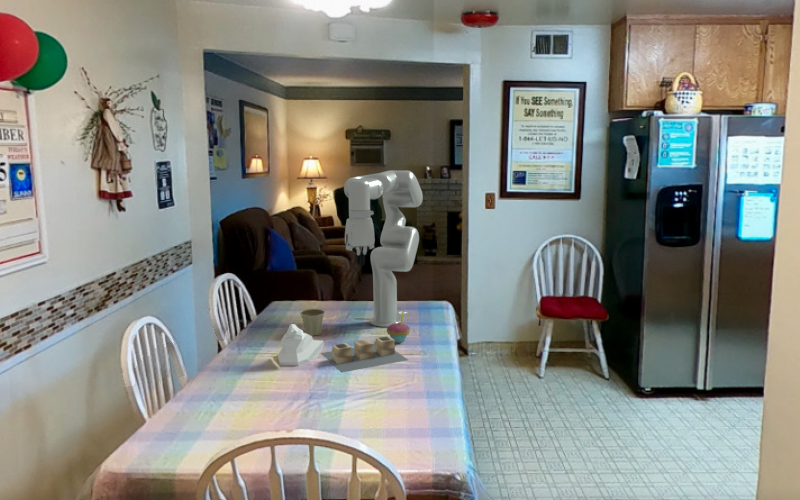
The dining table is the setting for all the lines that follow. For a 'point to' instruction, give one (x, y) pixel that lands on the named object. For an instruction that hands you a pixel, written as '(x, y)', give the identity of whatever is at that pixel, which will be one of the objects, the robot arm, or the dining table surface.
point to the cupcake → (398, 331)
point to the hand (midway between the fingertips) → (360, 265)
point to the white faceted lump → (298, 347)
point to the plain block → (363, 349)
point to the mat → (365, 361)
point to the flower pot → (312, 321)
